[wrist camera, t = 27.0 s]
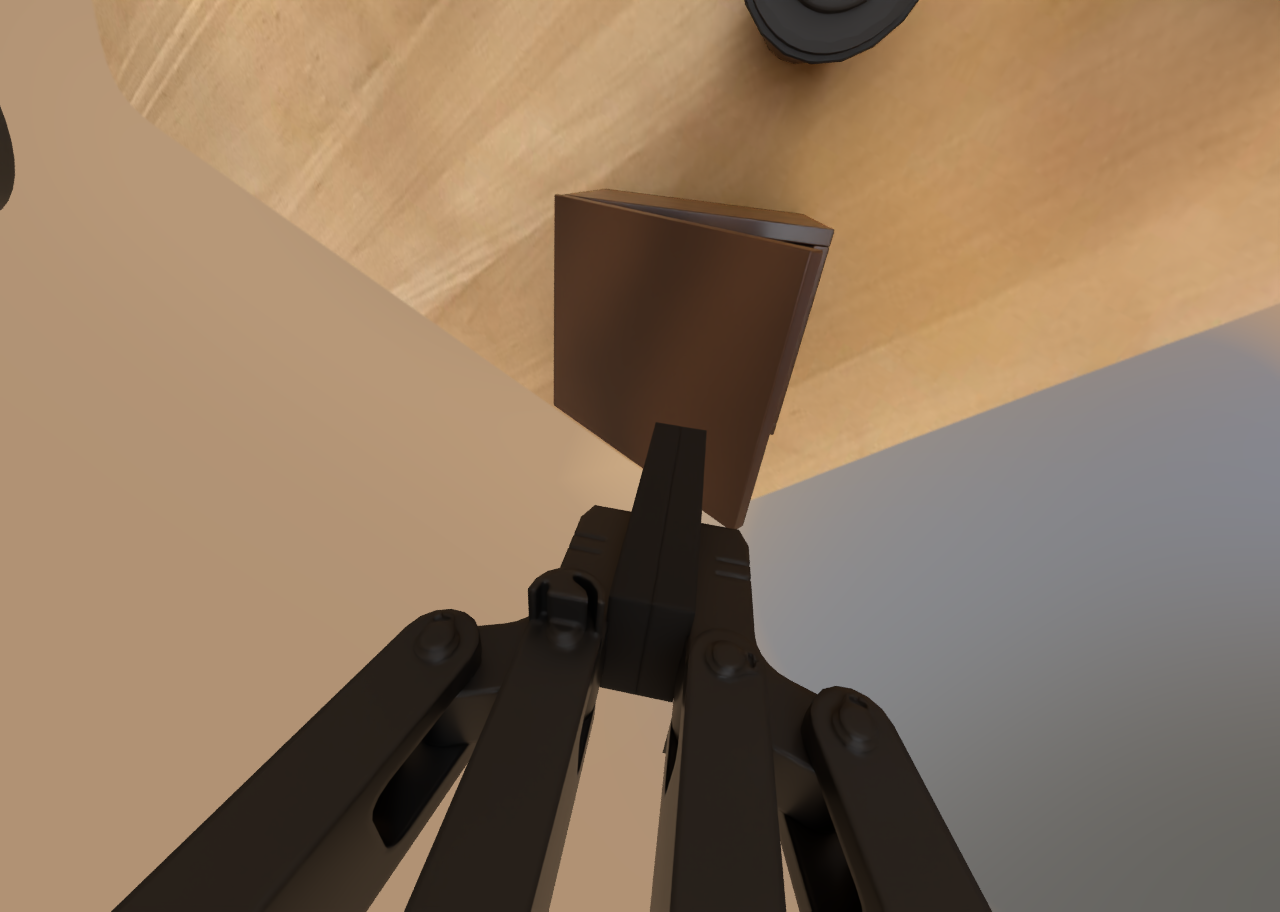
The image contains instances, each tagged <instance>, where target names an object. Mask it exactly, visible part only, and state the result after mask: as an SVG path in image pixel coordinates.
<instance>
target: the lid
mask: <svg viewBox="0 0 1280 912" xmlns="http://www.w3.org/2000/svg"><path fill="white" fill-rule="evenodd" d="M822 255H823V251H822V250H819V249H814V248H810V247H805V246H800V245H796V244H791V243H786V242H782V241H777V240H773V239H768V238H763V237H759V236H754V235H749V234H745V233H740V232H736V231H731V230H726V229H722V228H717V227H712V226H708V225H703V224H699V223H694V222H689V221H685V220H680V219H675V218H671V217H666V216H662V215H657V214H652V213H648V212H643V211H638V210H634V209H629V208H625V207H620V206H615V205H611V204H606V203H601V202H597V201H592V200H588V199H583V198H578V197H574V196H569V195H557V194H556V195H555V239H554V405H555V406H556V407H557V408H559V409H560V410H562V411H563V412H564V413H566V414H567V415H569V416H570V417H572V418H573V419H574V420H576V421H577V422H579V423H580V424H581V425H583V426H584V427H586V428H587V429H588V430H590V431H591V432H593V433H594V434H595V435H597V436H598V437H600V438H601V439H603V440H604V441H605V442H607V443H608V444H610V445H611V446H612V447H614V448H615V449H617V450H618V451H619V452H621V453H622V454H624V455H625V456H626V457H628V458H629V459H631V460H632V461H634V462H635V463H636V464H638V465H639V466H641V467H642V468H644V464H645V460H646V456H647V453H648V449H649V445H650V442H651V438H652V434H653V431H654V427H655V423H656V422H659V423H665V424H671V425H677V426H683V427H689V428H695V429H701V430H707V436H706V452H705V468H704V484H703V500H702V510H703V511H704V512H705V513H707V514H708V515H710V516H711V517H713V518H714V519H715V520H717V521H718V522H719V523H721V524H722V525H724V526H725V527H726V528H731V529H738V528H740V527H741V526H743V523H744V520H745V517H746V513H747V510H748V506H749V503H750V500H751V496H752V493H753V489H754V486H755V483H756V479H757V476H758V472H759V469H760V466H761V462H762V459H763V455H764V452H765V449H766V445H767V442H768V438H769V435H770V432H771V428H772V425H773V421H774V418H775V415H776V411H777V408H778V404H779V401H780V398H781V394H782V391H783V387H784V384H785V381H786V377H787V374H788V370H789V367H790V364H791V360H792V357H793V353H794V350H795V347H796V343H797V340H798V336H799V333H800V330H801V326H802V323H803V319H804V316H805V313H806V309H807V306H808V302H809V299H810V296H811V292H812V289H813V285H814V282H815V279H816V275H817V272H818V268H819V265H820V262H821V258H822Z"/></svg>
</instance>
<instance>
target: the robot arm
mask: <svg viewBox="0 0 1280 912" xmlns="http://www.w3.org/2000/svg"><path fill="white" fill-rule="evenodd" d="M706 436H707V430H701V429H695V428H689V427H683V426H677V425H671V424H665V423H659V422H656V423H655V427H654V431H653V434H652V438H651V442H650V445H649V449H648V453H647V456H646V460H645V464H644V468H643V471H642V475H641V479H640V483H639V486H638V490H637V494H636V497H635V501H634V505H633V508H632V512H630V511H624V510H618V509H613V508H608V507H602V506H597V505H595V506H593V507H592V508H591V509H590V510H589V511H587V512H586V513H585V514H584V515H583V516H582V517H581V519H580V521H579V523H578V526H577V528H576V531H575V534H574V536H573V538H572V540H571V543H570V545H569V548H568V550H567V552H566V555H565V557H564V560H563V562H562V564H561V567H560V568H558V569H554V570H550V571H547V572H545V573H544V574H542V575H541V576H539V577H537V578H536V579H535V581H534V582H533V583H532V584H531V586H530V587H529V588H528V604H529V616H528V617H526V618H524V619H521V620H519V621H515V622H510V623H505V624H495V625H484V626H477V624H476V622H475V620H474V619H473V618H472V617H470V616H469V615H468V614H466V613H465V612H461V611H458V610H453V609H446V610H436V611H433V612H431V613H428V614H425V615H422V616H420V617H419V618H417V619H416V620H415V621H413V622H412V623H410V624H409V625H408V626H407V627H405V628H404V629H403V630H402V631H401V632H400V633H399V634H398V635H397V636H396V637H395V638H394V639H393V640H392V641H391V642H390V643H389V644H388V645H387V646H386V647H385V648H384V649H383V650H382V651H380V653H379V654H377V655H376V656H375V657H374V658H373V659H372V660H371V661H370V662H369V663H368V664H367V665H366V666H365V667H364V668H363V669H362V670H361V671H360V672H359V673H358V674H357V675H356V676H355V677H354V678H353V679H351V680H350V681H349V682H348V683H347V684H346V685H345V686H344V687H343V688H342V689H341V690H340V691H339V692H338V693H337V694H336V695H335V696H334V697H333V698H332V699H331V700H330V701H329V702H328V703H327V704H326V705H325V706H324V707H322V708H321V709H320V711H318V712H317V713H316V714H315V715H314V716H313V717H312V718H311V719H310V720H309V721H308V722H307V723H306V724H305V725H304V726H303V727H302V728H301V729H300V730H299V731H298V732H297V733H296V734H295V735H293V736H292V737H291V739H290V740H288V741H287V742H286V743H285V744H284V745H283V746H282V747H281V748H280V749H279V750H278V751H277V752H276V753H275V754H274V755H273V756H272V757H271V758H270V759H269V760H268V761H267V762H266V763H264V764H263V765H262V766H261V767H260V768H259V769H258V770H257V771H256V772H255V773H254V774H253V775H252V776H251V777H250V778H249V779H248V780H247V781H246V782H245V783H244V784H243V785H242V786H241V787H240V788H239V789H238V790H237V791H235V792H234V793H233V794H232V796H230V797H229V798H228V799H227V800H226V801H225V802H224V803H223V804H222V805H221V806H220V807H219V808H218V809H217V810H216V811H215V812H214V813H213V814H212V815H211V816H210V817H209V818H208V819H207V820H206V821H204V823H202V824H201V825H200V826H199V827H198V828H197V829H196V830H195V831H194V832H193V833H192V834H191V835H190V836H189V837H188V838H187V839H186V840H185V841H184V842H183V843H182V844H181V845H180V846H179V847H178V848H177V849H175V850H174V851H173V852H172V853H171V854H170V855H169V856H168V857H167V858H166V859H165V860H164V861H163V862H162V863H161V864H160V865H159V866H158V867H157V868H156V869H155V870H154V871H153V872H152V873H151V874H150V875H149V876H147V877H146V878H145V879H144V880H143V881H142V882H141V883H140V884H139V885H138V886H137V887H136V888H135V889H134V890H133V891H132V892H131V893H130V894H129V895H128V896H127V897H126V898H125V899H124V900H123V901H122V902H121V903H120V904H119V905H117V906H116V907H115V908H114V909H113V910H112V911H111V912H366V911H367V910H368V908H369V907H370V906H371V904H372V903H373V901H374V899H375V898H376V896H377V895H378V894H379V892H380V891H381V889H382V888H383V886H384V885H385V883H386V882H387V881H388V879H389V878H390V876H391V875H392V873H393V872H394V870H395V869H396V867H397V866H398V864H399V863H400V861H401V860H402V859H403V857H404V856H405V854H406V853H407V851H408V850H409V848H410V847H411V845H412V844H413V842H414V841H415V839H416V838H417V837H418V835H419V834H420V832H421V831H422V829H423V828H424V826H425V825H426V823H427V822H428V820H429V819H430V817H431V816H432V814H433V813H434V812H435V810H436V809H437V807H438V806H439V804H440V803H441V801H442V800H443V798H444V797H445V795H446V794H447V792H448V791H449V790H450V788H451V787H452V785H453V784H454V782H455V781H456V779H457V778H458V776H459V775H460V773H461V772H462V770H463V769H464V768H465V766H466V765H467V767H466V769H465V771H464V774H463V776H462V778H461V780H460V783H459V785H458V788H457V790H456V792H455V794H454V797H453V799H452V801H451V804H450V806H449V808H448V811H447V813H446V815H445V818H444V820H443V822H442V825H441V827H440V829H439V832H438V834H437V836H436V839H435V841H434V843H433V846H432V848H431V850H430V853H429V855H428V857H427V859H426V862H425V864H424V867H423V869H422V871H421V873H420V876H419V878H418V880H417V883H416V885H415V887H414V890H413V892H412V894H411V897H410V899H409V901H408V904H407V906H406V908H405V911H404V912H549V907H550V903H551V898H552V894H553V890H554V886H555V882H556V877H557V873H558V869H559V864H560V860H561V856H562V852H563V847H564V843H565V839H566V835H567V830H568V826H569V822H570V818H571V813H572V809H573V805H574V800H575V796H576V792H577V788H578V783H579V779H580V775H581V771H582V766H583V762H584V758H585V754H586V749H587V745H588V740H589V737H590V732H591V728H592V724H593V720H594V713H595V702H596V698H597V694H598V690H599V686H600V687H602V688H607V689H612V690H616V691H621V692H626V693H630V694H635V695H640V696H645V697H649V698H654V699H659V700H664V701H668V702H673V712H672V719H671V723H670V727H669V731H668V734H667V739H666V742H665V746H664V750H663V753H666V757H665V767H664V777H663V787H662V797H661V808H660V817H659V827H658V836H657V847H656V856H655V866H654V876H653V887H652V896H651V906H650V912H786V904H785V892H784V879H783V867H782V856H781V845H782V849H783V852H784V856H785V860H786V863H787V867H788V871H789V874H790V878H791V881H792V885H793V889H794V893H795V896H796V900H797V904H798V907H799V911H800V912H992V911H991V909H990V907H989V905H988V903H987V901H986V899H985V897H984V895H983V894H982V892H981V890H980V888H979V886H978V884H977V882H976V881H975V878H974V877H973V875H972V873H971V871H970V869H969V867H968V865H967V863H966V861H965V860H964V858H963V856H962V854H961V852H960V850H959V848H958V846H957V844H956V843H955V841H954V839H953V837H952V835H951V833H950V831H949V829H948V827H947V825H946V824H945V822H944V820H943V818H942V816H941V814H940V812H939V810H938V808H937V806H936V805H935V803H934V801H933V799H932V797H931V795H930V793H929V792H928V790H927V788H926V786H925V784H924V782H923V780H922V778H921V776H920V774H919V773H918V771H917V769H916V767H915V765H914V763H913V761H912V759H911V757H910V755H909V753H908V752H907V750H906V748H905V746H904V744H903V742H902V740H901V738H900V737H899V735H898V733H897V731H896V729H895V727H894V725H893V724H892V722H891V721H890V720H889V718H888V717H887V716H886V714H885V713H884V711H883V710H882V709H881V708H880V707H879V706H878V705H877V704H875V703H874V702H873V701H872V700H871V699H870V698H868V697H867V696H865V695H863V694H861V693H859V692H857V691H855V690H853V689H851V688H845V687H839V686H834V687H830V688H826V689H822V691H821V692H820V693H819V694H816V693H814V692H812V691H810V690H808V689H806V688H804V687H802V686H800V685H798V684H796V683H794V682H793V681H791V680H789V679H787V678H786V677H784V676H782V675H781V674H779V673H778V672H777V671H776V670H775V669H773V668H772V667H771V666H770V665H769V664H768V663H767V662H766V660H765V658H764V657H763V656H762V655H761V652H760V650H759V648H758V646H757V644H756V639H755V632H754V618H753V604H752V589H751V581H750V579H751V574H750V567H749V564H750V560H749V547H748V545H747V543H746V541H745V539H744V538H743V536H742V534H741V533H740V531H739V530H737V529H731V528H726V527H720V526H714V525H709V524H703V523H701V515H702V500H703V484H704V468H705V452H706ZM673 698H674V701H673ZM467 763H468V764H467ZM780 841H781V844H780Z"/></svg>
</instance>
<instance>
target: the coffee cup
mask: <svg viewBox="0 0 1280 912" xmlns="http://www.w3.org/2000/svg"><path fill="white" fill-rule="evenodd" d="M744 1H745V5H746V7H747V9H748V11H749V12H750V14H751V16H752V18H753V20H754V22H755V24H756V26H757V28H758V30H759V32H760V34H761V35H762V37H763V39H764V41H765V43H766V45H767V47H768V48H769V50H770V51H772V52H773V53H774V54H775V55H776V56H777V57H778V58H779V59H781V60H784V61H787V62H790V63H793V64H794V63H809V64H820V63H832V62H842V61H844V60H846V59H849V58H851V57H853V56H855V55H857V54H859V53H862V52H864V51H866V50H868V49H870V48H873V47H874V46H875V45H876V44H878V43H879V42H880V41H881V40H882V39H883V38H885V37H886V36H887V35H888V34H889V33H890V32H892V31H893V30H894V29H895V28H896V27H897V26H899V25H900V24H901V23H902V22H903V21H904V20H905V18H906V17H907V16H908V14H909V13H910V12H911V10H912V9H913V7H914V6H915V5H916V3H917V2H918V1H919V0H744Z"/></svg>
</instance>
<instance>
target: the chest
mask: <svg viewBox="0 0 1280 912" xmlns="http://www.w3.org/2000/svg"><path fill="white" fill-rule="evenodd" d="M565 195H569V196H574V197H578V198H583V199H588V200H592V201H597V202H601V203H606V204H611V205H615V206H620V207H625V208H629V209H634V210H638V211H643V212H648V213H652V214H657V215H662V216H666V217H671V218H675V219H680V220H685V221H689V222H694V223H699V224H703V225H708V226H712V227H717V228H722V229H726V230H731V231H736V232H740V233H745V234H749V235H754V236H759V237H763V238H768V239H773V240H777V241H782V242H786V243H791V244H796V245H800V246H805V247H810V248H814V249H819V250H822V251H823V255H822V258H821V262H820V265H819V268H818V272H817V275H816V279H815V282H814V285H813V289H812V292H811V296H810V299H809V302H808V306H807V309H806V313H805V316H804V319H803V323H802V326H801V330H800V333H799V336H798V340H797V343H796V347H795V350H794V353H793V357H792V360H791V364H790V367H789V370H788V374H787V377H786V381H785V384H784V387H783V391H782V394H781V398H780V401H779V404H778V408H777V411H776V415H775V418H774V421H773V425H772V428H771V432H770V434H771V435H773V434H774V431H775V428H776V423H777V421H778V418H779V414H780V411H781V408H782V404H783V401H784V398H785V394H786V391H787V387H788V384H789V381H790V377H791V374H792V371H793V367H794V364H795V361H796V357H797V354H798V351H799V347H800V344H801V341H802V337H803V334H804V331H805V327H806V324H807V321H808V317H809V314H810V311H811V307H812V304H813V301H814V297H815V294H816V291H817V287H818V284H819V281H820V277H821V274H822V271H823V267H824V264H825V260H826V257H827V254H828V250H829V246H830V244H831V240H832V237H833V234H834V229H832V228H830V227H828V226H826V225H824V224H822V223H820V222H818V221H816V220H814V219H812V218H810V217H808V216H806V215H804V214H797V213H789V212H781V211H774V210H766V209H758V208H750V207H743V206H735V205H727V204H719V203H711V202H704V201H696V200H688V199H680V198H673V197H665V196H657V195H649V194H641V193H634V192H626V191H618V190H610V189H601V190H593V191H586V192H579V193H571V194H565Z"/></svg>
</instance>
